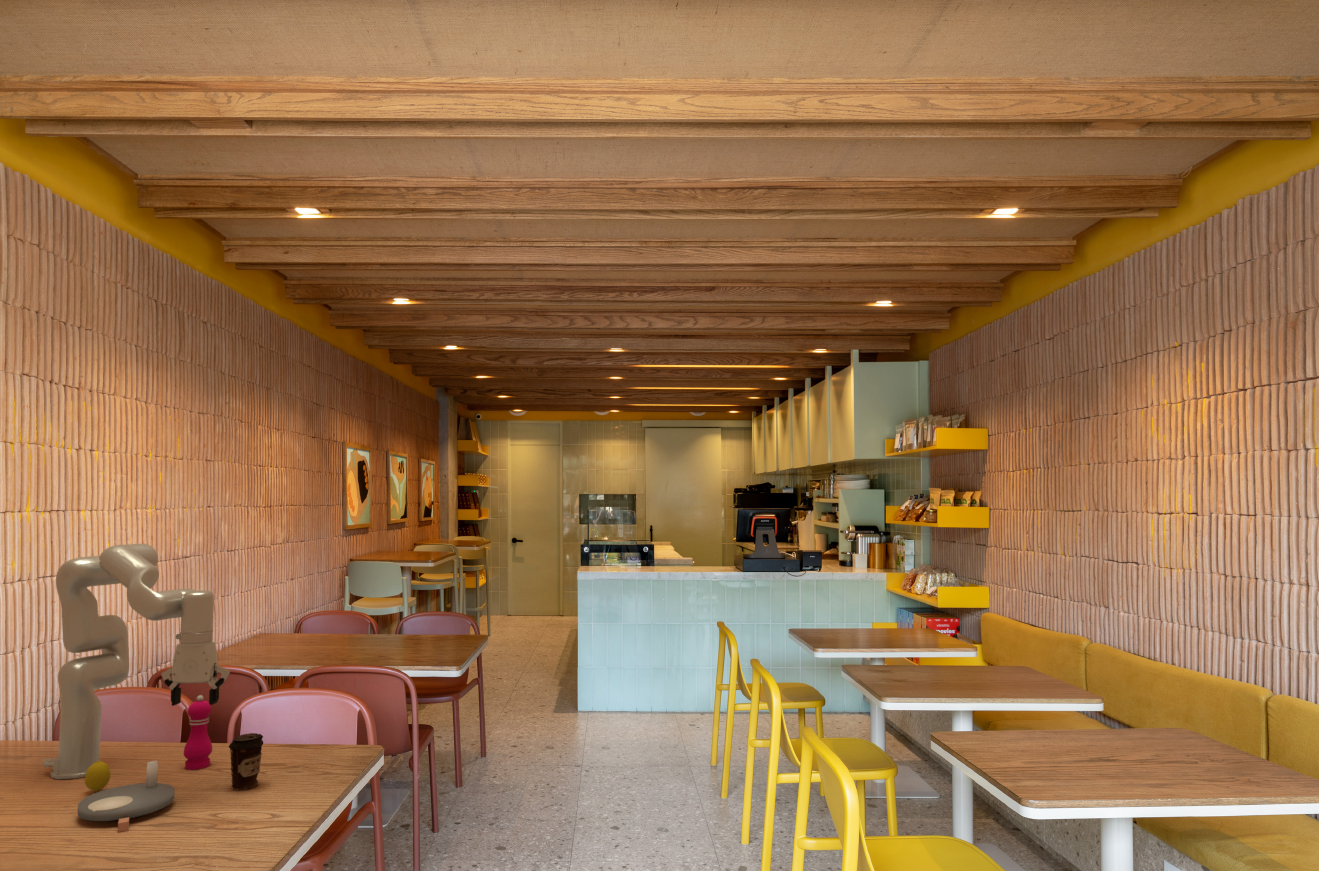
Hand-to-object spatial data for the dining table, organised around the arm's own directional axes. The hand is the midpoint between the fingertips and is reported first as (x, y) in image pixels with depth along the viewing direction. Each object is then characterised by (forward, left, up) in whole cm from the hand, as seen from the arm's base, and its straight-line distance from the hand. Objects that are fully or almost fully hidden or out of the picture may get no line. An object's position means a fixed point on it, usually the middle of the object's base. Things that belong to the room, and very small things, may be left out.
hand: (194, 704), depth 219 cm
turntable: (-10, -12, -21) cm, 26 cm away
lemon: (-24, +4, -23) cm, 34 cm away
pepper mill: (-6, +22, -23) cm, 32 cm away
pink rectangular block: (-6, -24, -23) cm, 33 cm away
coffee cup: (+13, +2, -23) cm, 26 cm away
